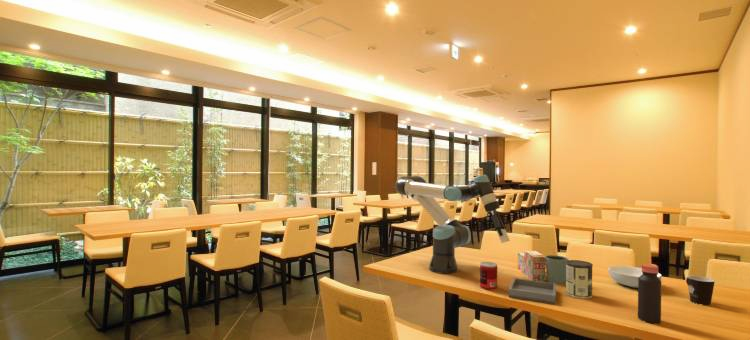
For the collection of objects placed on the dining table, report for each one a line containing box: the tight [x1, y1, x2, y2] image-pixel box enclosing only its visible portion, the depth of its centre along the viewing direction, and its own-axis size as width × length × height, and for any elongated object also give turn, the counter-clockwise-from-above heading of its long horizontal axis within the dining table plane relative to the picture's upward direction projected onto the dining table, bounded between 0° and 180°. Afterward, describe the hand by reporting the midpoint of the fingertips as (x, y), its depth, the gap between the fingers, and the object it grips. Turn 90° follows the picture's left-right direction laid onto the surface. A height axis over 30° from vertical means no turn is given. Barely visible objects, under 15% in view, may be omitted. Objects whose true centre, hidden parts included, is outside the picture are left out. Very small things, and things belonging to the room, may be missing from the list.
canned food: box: [479, 261, 498, 291], centre depth 171 cm, size 8×8×11 cm
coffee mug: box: [685, 275, 715, 306], centre depth 155 cm, size 12×9×10 cm
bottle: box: [637, 263, 662, 324], centre depth 135 cm, size 7×7×20 cm
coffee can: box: [565, 259, 594, 300], centre depth 162 cm, size 10×10×14 cm
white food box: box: [517, 250, 546, 282], centre depth 192 cm, size 21×6×12 cm, turn 178°
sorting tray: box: [508, 277, 557, 305], centre depth 162 cm, size 18×18×4 cm
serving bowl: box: [608, 265, 662, 289], centre depth 176 cm, size 21×21×7 cm
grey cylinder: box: [544, 254, 569, 286], centre depth 181 cm, size 10×10×12 cm
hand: (505, 241), depth 189 cm, fingers open, 13 cm apart
